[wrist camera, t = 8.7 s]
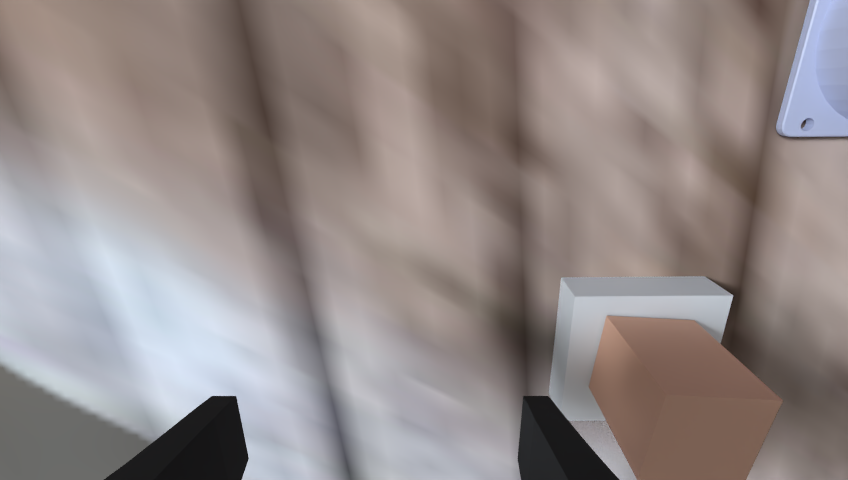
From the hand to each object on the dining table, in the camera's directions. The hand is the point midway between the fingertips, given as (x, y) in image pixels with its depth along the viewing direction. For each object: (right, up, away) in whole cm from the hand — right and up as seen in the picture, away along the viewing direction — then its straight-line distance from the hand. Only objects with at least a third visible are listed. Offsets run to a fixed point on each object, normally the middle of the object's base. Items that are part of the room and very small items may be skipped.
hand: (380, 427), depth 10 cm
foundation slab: (+11, 0, +11) cm, 16 cm away
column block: (+11, -1, +9) cm, 14 cm away
